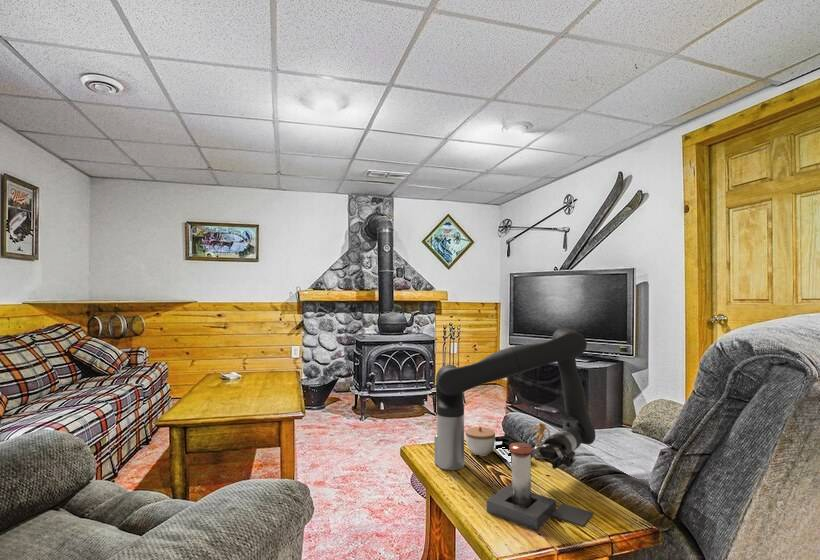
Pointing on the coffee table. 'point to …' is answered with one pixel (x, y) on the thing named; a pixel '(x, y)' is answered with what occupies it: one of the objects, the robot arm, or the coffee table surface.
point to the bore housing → (521, 508)
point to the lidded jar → (480, 440)
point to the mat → (572, 514)
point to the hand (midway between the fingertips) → (539, 461)
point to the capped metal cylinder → (521, 474)
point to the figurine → (540, 434)
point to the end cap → (506, 441)
